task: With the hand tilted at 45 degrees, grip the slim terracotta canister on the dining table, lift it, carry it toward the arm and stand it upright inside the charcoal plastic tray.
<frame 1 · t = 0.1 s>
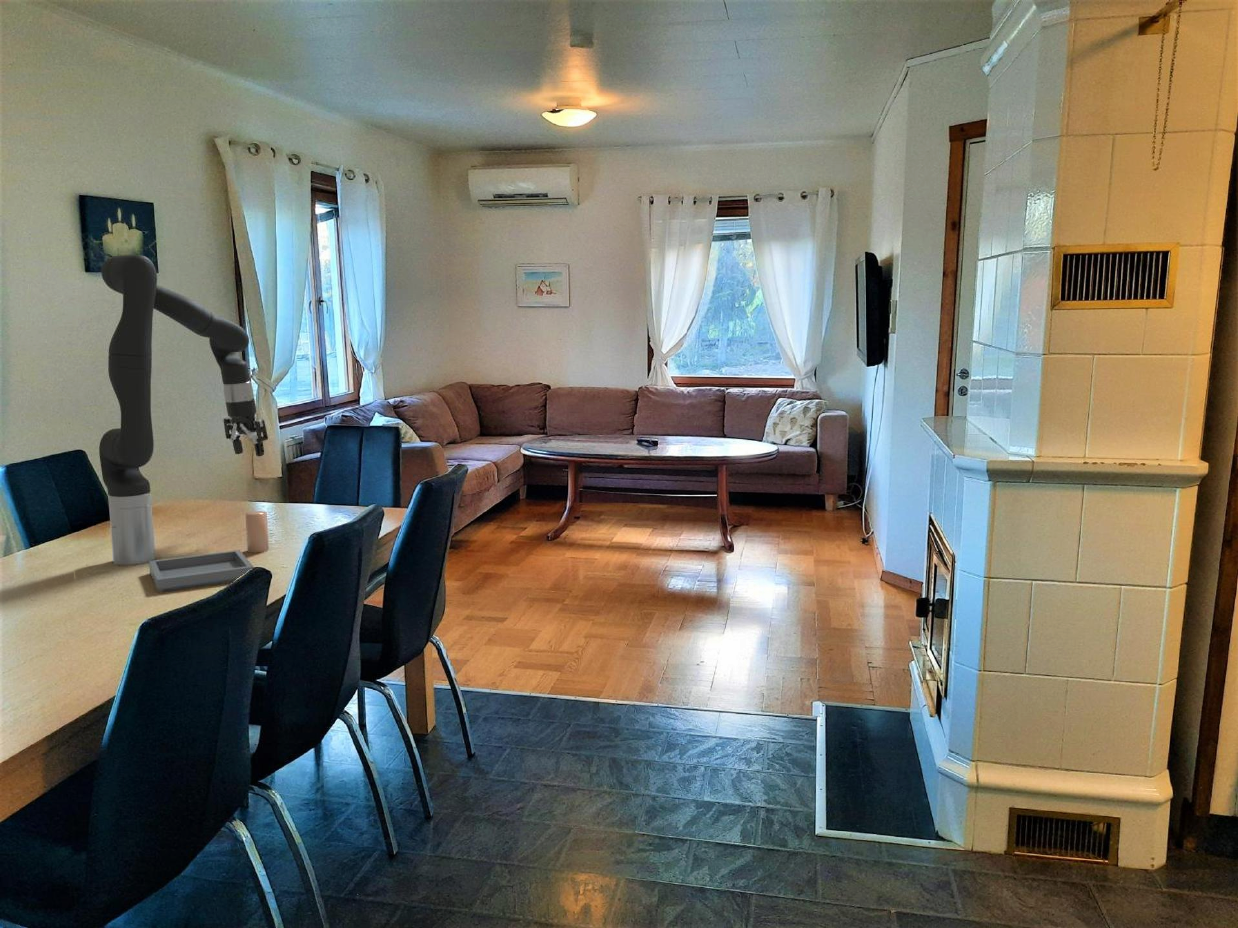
hand: (249, 454, 247), 22 cm above the table, tool pointing down, fingers open, 8 cm apart
terracotta canister: (258, 550, 229), on the table
charcoal tray: (201, 576, 206), on the table
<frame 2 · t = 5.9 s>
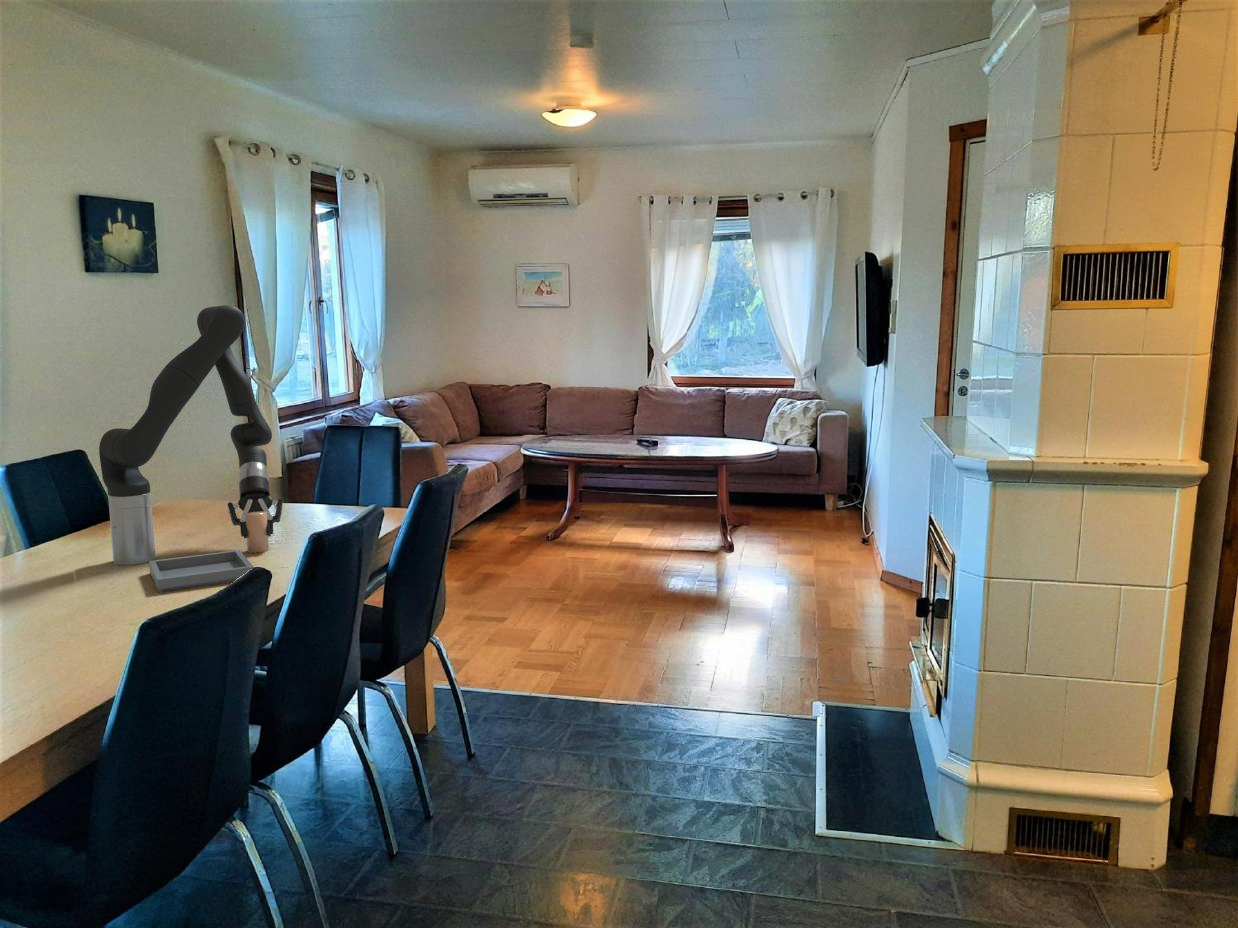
hand: (257, 535, 227), 4 cm above the table, tool tilted 45°, fingers closed on terracotta canister, 5 cm apart
terracotta canister: (258, 550, 229), on the table, touching gripper
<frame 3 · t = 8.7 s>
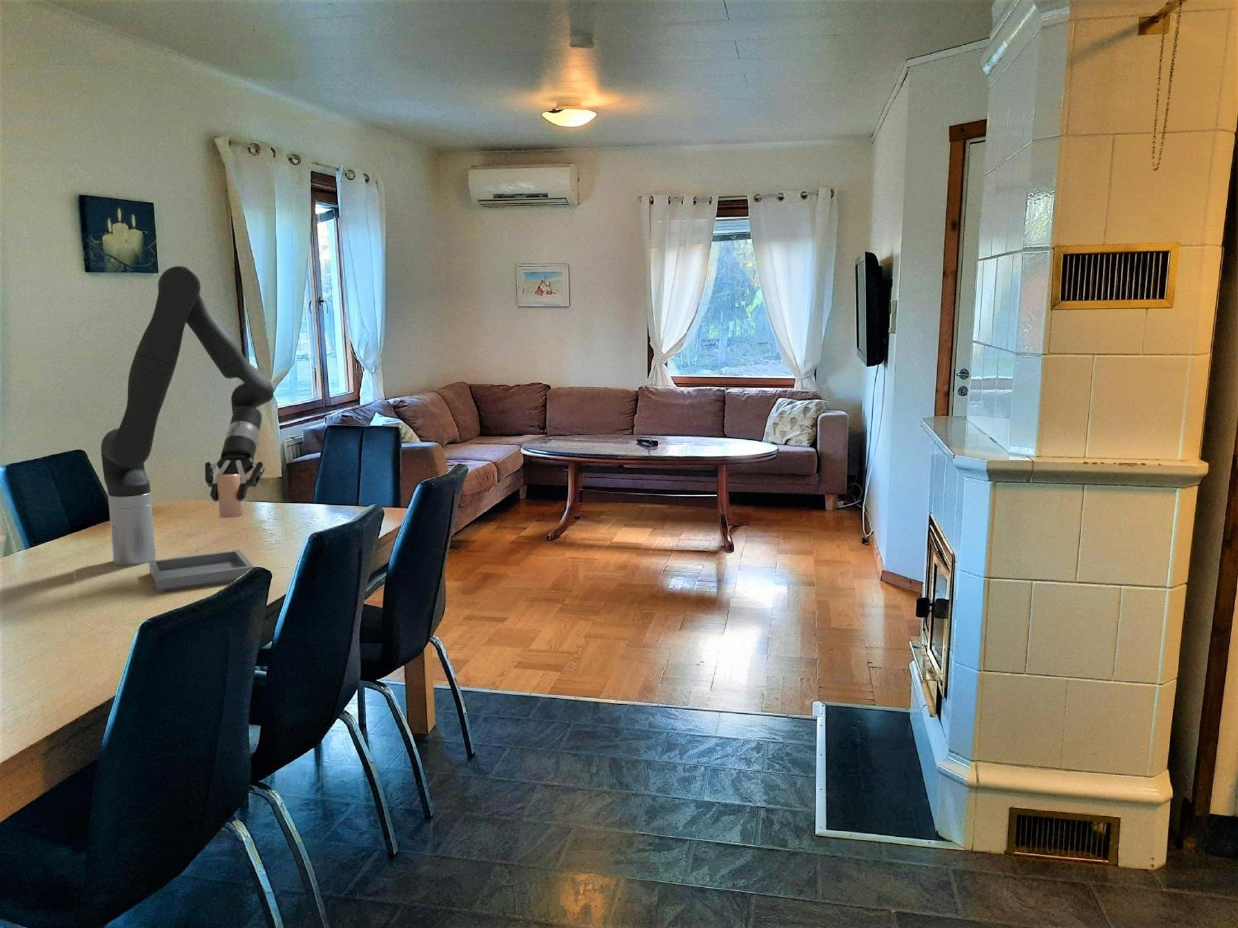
hand: (227, 499, 210), 17 cm above the table, tool tilted 45°, fingers closed on terracotta canister, 5 cm apart
terracotta canister: (230, 515, 212), point 13 cm above the table, touching gripper
when the fingers open (7 cm above the table, at t = 11.8 s): terracotta canister drops 1 cm, resting on charcoal tray.
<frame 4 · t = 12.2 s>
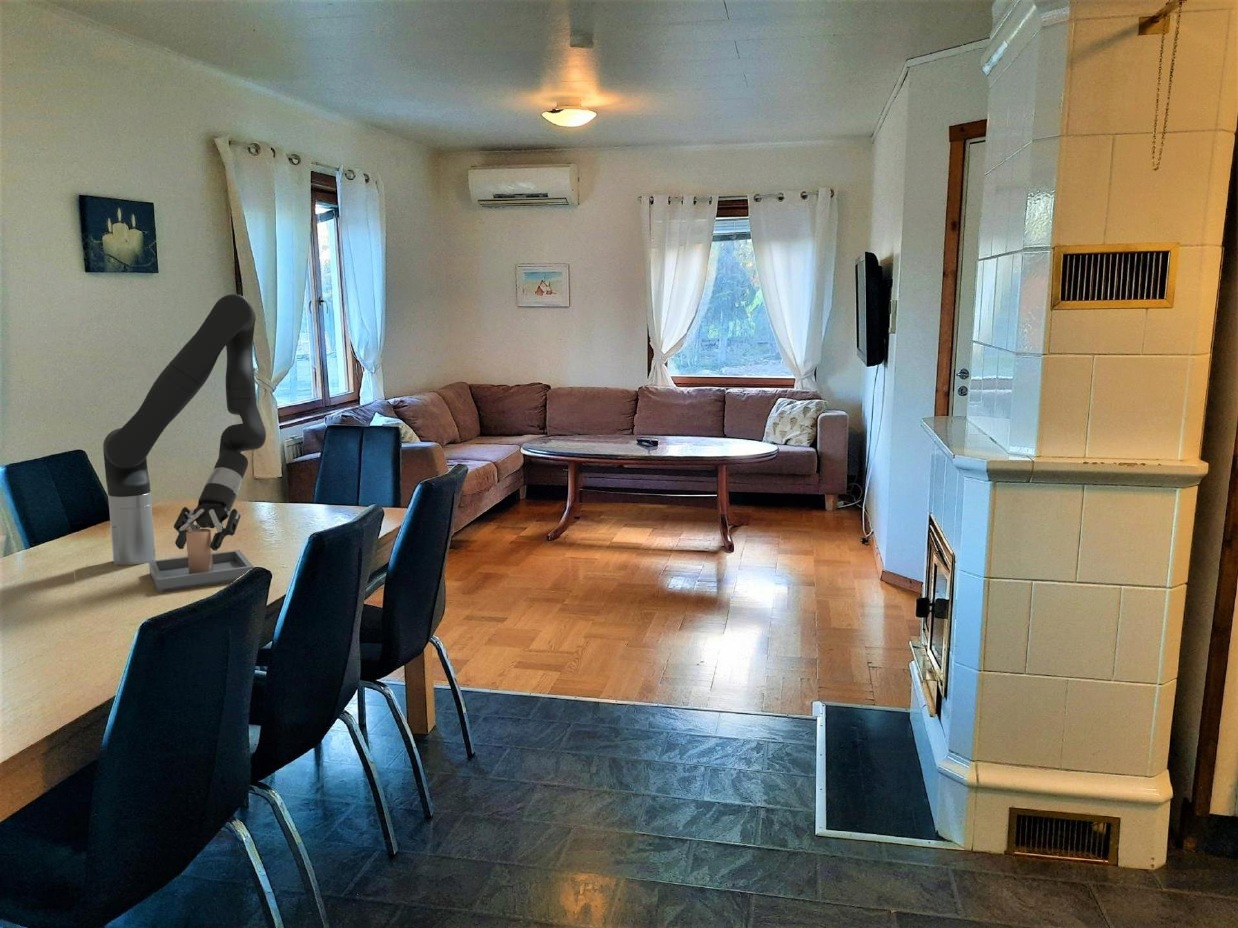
hand: (196, 548, 203), 7 cm above the table, tool tilted 45°, fingers open, 8 cm apart
terracotta canister: (201, 572, 206), point 1 cm above the table, touching charcoal tray
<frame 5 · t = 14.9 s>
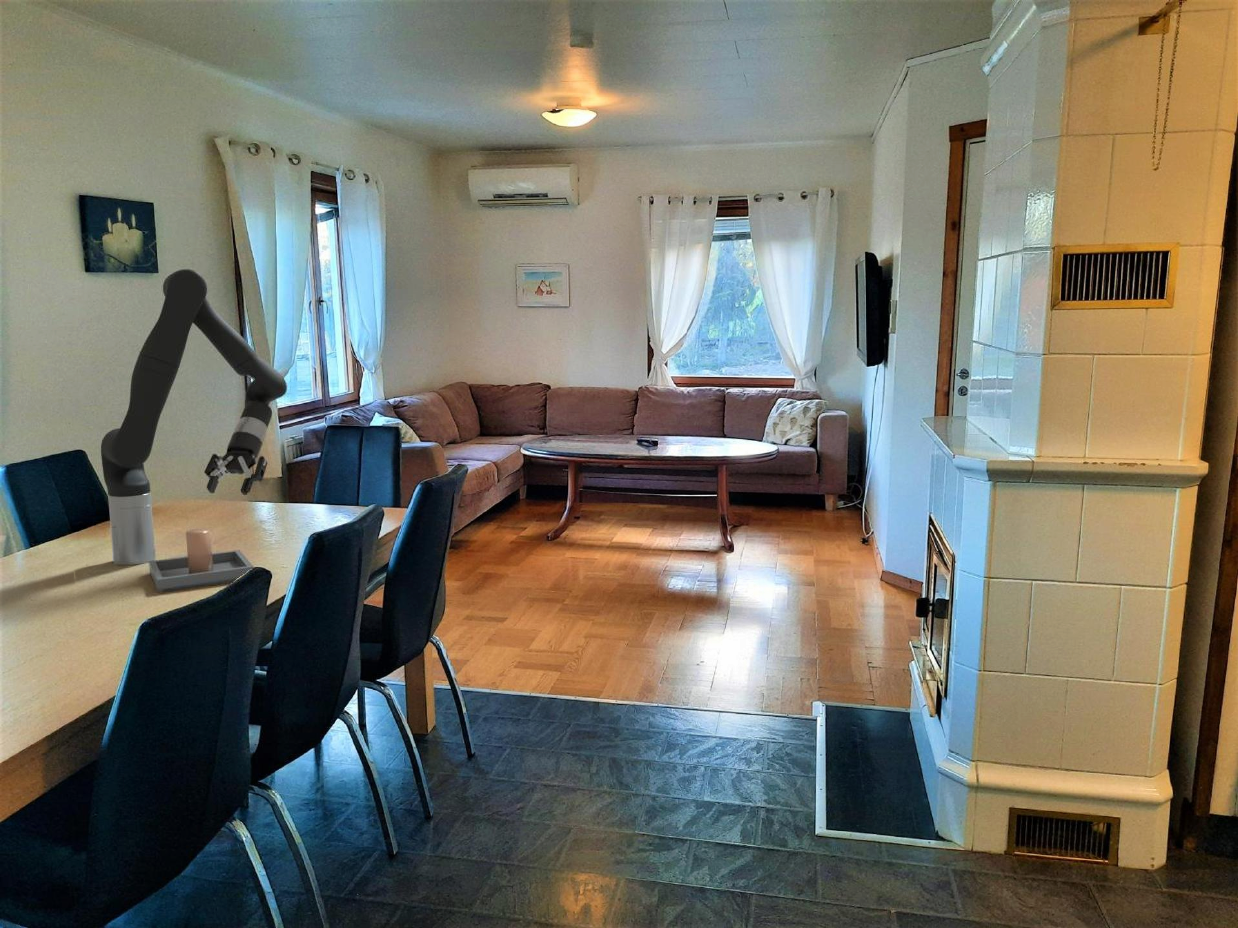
hand: (226, 492, 216), 18 cm above the table, tool tilted 40°, fingers open, 8 cm apart
nothing on the table moved.
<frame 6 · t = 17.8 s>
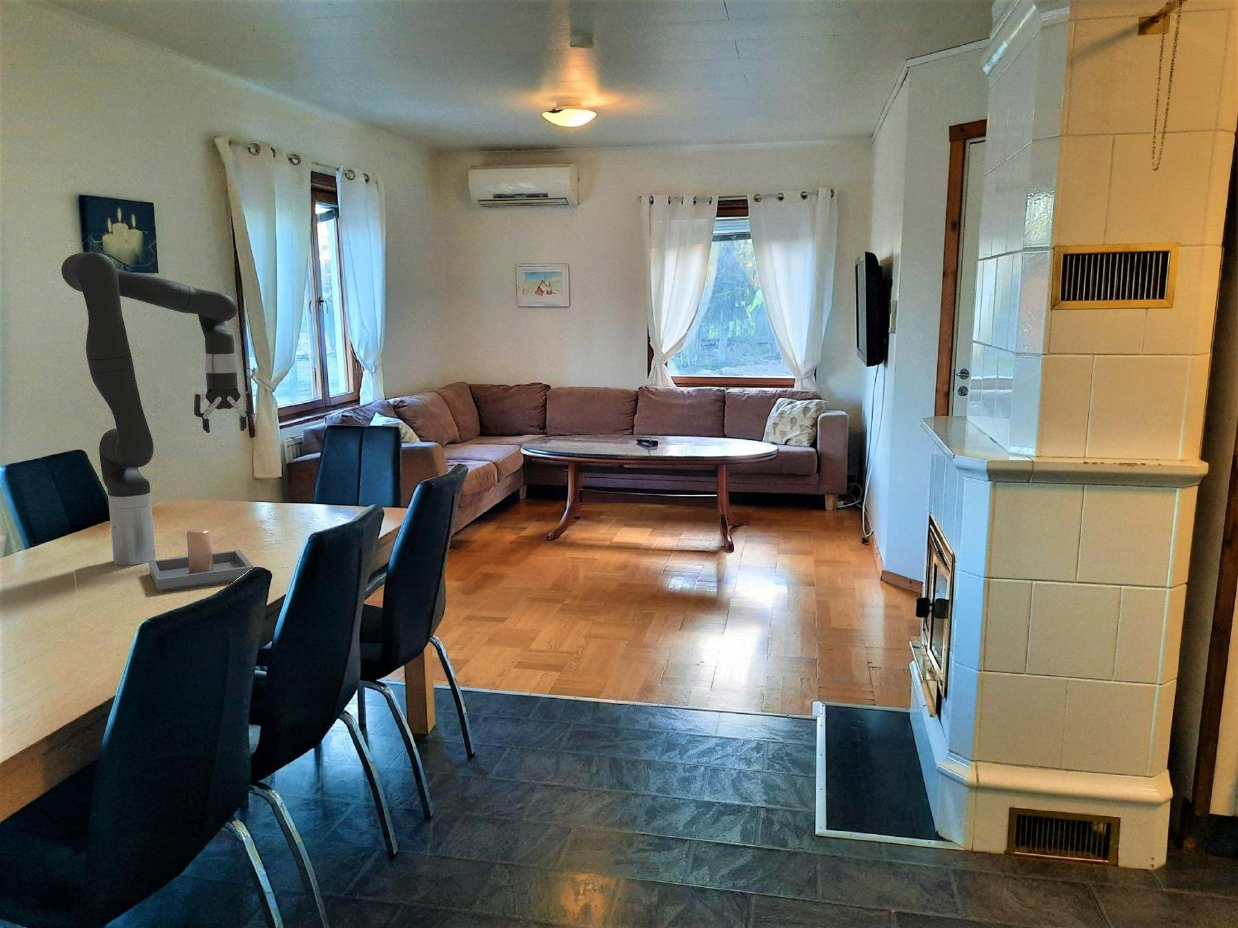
hand: (225, 431, 234), 30 cm above the table, tool pointing down, fingers open, 8 cm apart
nothing on the table moved.
at the end: terracotta canister inside the target area on the charcoal tray (0.2 cm from its centre), point 0.8 cm above the charcoal tray's base; terracotta canister tilted 1°; the gripper is holding nothing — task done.
